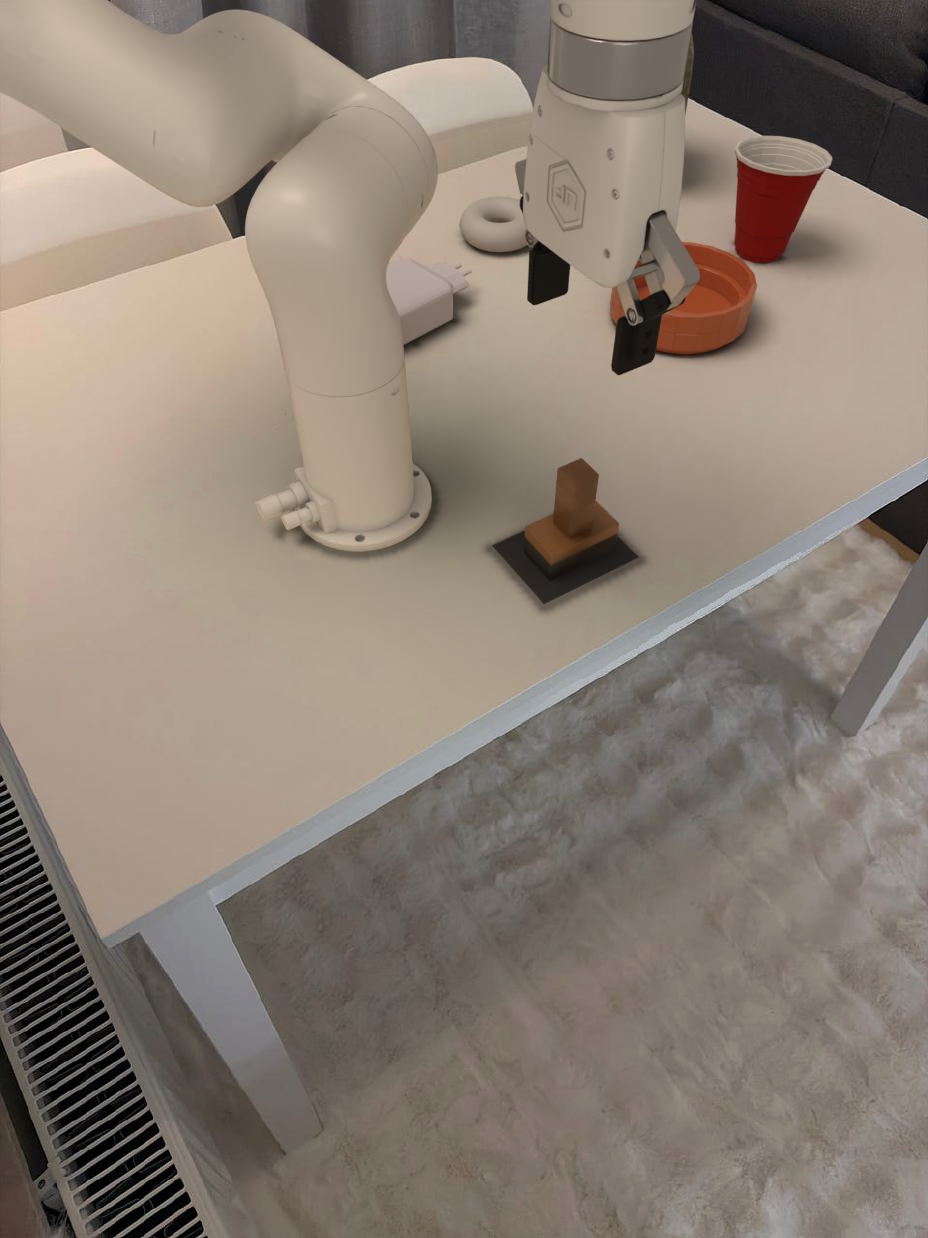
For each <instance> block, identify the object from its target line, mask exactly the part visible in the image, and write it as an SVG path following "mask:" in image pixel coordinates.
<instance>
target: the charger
mask: <svg viewBox="0 0 928 1238" xmlns="http://www.w3.org/2000/svg"><path fill="white" fill-rule="evenodd" d="M462 267H463V266H462V263H457V264H455V265H450V264H448V263H446V262H439V263H436V264H434V265H432V266H430V267H427V266H424V265H423V264H421V263H419V262H418V261H416V260H414V259H411V258H406V257H402V256H401V257H398V258H396V259H394V260H392V261H389V263H388V266H387V271H386V283H387V288H388V291H389V294H390V296H391V298H392V300H393V302H394V304H395V307H396V309H397V312H398V314H399V318H400V322H401V328H402V336H403V346H404V345H406V344H408V343H410V342H412V341H414V340H416V339H418V338H420V337H422V336H423V335H426V334H427V333H429V332H431V331H433V330H435V329H437V328H439V327H441V326H442V325H445V324H447V323H448V322H451V321H452V320H453V318H454V295H455V294H457V293H459V292H461V291H463V290H465V289H467V288H468V287H470V284H469V282H468V280H467V278H466V276H468V275H470V274H472V272H473V271H472V269H471V268H469V269H467V270H465V271H462V272H461V271H460V270H459V269H461V268H462Z"/></svg>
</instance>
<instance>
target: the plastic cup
mask: <svg viewBox="0 0 928 1238" xmlns="http://www.w3.org/2000/svg"><path fill="white" fill-rule="evenodd" d="M734 154H735V156H736V157H735V158H736V169H737V170H736V172H737V173H736V179H737V180H736V196H735V197H736V198H735V214H734V215H735V216H734V223H735V229H734V241H733V242H734V250H735V252H736V253H735V254H737V255H738V256H739V257H741V258H742V259H744V260H747V261H749V262H752V263H753V262H754V263H759V264H760V263H761V264H762V263H772V262H774V261H777V260H779V259H780V258H782V255H783V254H784V253H785V250H786V248H787V246H788V244H789V242H790V239H791V237H792V235H793V233H794V232H795V230H796V228H797V226H798V224H799V222H800V219H801V217H802V215H803V213H804V211H805V209H806V206H807V204H808V202H809V200H810V198H811V196H812V193H813V191H814V190H815V188H816V186H817V185H818V182H819V181H820V180H821V178H822V175H824V172H826V170H828V169H829V168H830V166H831V165H832V161H833V156H832V155H831V154H830V153H829V151H828V150H826V149H825V148H823V147H821V146H819V145H818V144H815V143H813V142H809V141H807V140H803V139H799V138H795V137H789V136H781V135H757V136H751V137H746V138H744V139H742V140H740V141H738V142H737V143H736V145H735V147H734Z"/></svg>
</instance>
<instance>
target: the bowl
mask: <svg viewBox="0 0 928 1238" xmlns="http://www.w3.org/2000/svg"><path fill="white" fill-rule="evenodd" d="M681 242H682V243H683V245H684V246H685V248H686V250H687V251H688V253H689V255H690V256H691V258H692V260H693V261H694V263H695V264H696V266H697V268H698V269H699V272H700V279H699V281H698V283H697V284H696V285H695V287H694V288H693V289H692V291H691V292H690V293H689V294H688V296H687V297H686V298H685V302H684V303H683V304H682V305H680V306H678V307H676V308H674V309H672V310H671V311H670V312H668V313H666V314H663V315H662V318H661V324H660V330H659V335H658V341H657V347H656V351H657V352H663V353H669V354H676V355H677V354H678V355H694V354H703V353H707V352H711V351H714V350H717V349H719V348H722V347H724V346H726V345H728V344H730V343H733V342H734V341H735V340H736V339H737V338H738V337H740V336H741V335H742V334H743V333H744V332H745V330H746V327H747V325H748V323H749V319H750V316H751V311H752V308H753V303H754V300H755V297H756V296H755V295H756V292H757V288H758V284H757V279H756V275H755V273H754V271H753V270H752V269H751V268H750V266H749V265H748V264H747V263H746V262H745V261H743V260H742V259H740V258H739V257H737V256H736V255H734V254H733V253H731V252H729V251H727V250H723V249H721V248H718V247H715V246H713V245H708V244H704V243H703V244H702V243H698V242H690V241H681ZM642 264H643V263H641V262H640V261H638V262H637V264H636V266H635V267H637V266H640V265H642ZM634 282H635V285H636V288H637V292H638V295H639V298H640V301H641V300H643V299H644V298H646V297H648V296H650V293H649V289H648V286H647V283H646V279H645V276H641V277H639V278H636V279H634ZM609 300H610V301H609V311H610V312H609V314H610V317H611V319H612V320H613V322H614V323H615V326H616V325H617V321H618V319H619V318H621V317H623V316H625V313H624V310H623V307H622V303H621V300H620V297H619V294H618V290H617V287H616V286H615V287H612V288H611V292H610V299H609Z"/></svg>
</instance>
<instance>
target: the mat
mask: <svg viewBox="0 0 928 1238" xmlns="http://www.w3.org/2000/svg"><path fill="white" fill-rule="evenodd" d="M524 537H525V530H522V531H521V532H518V533H516V534H514V535H512V536H510V537H507V538H505V539H503V540H500V541H499V542H497V543H494V544H492V545H491V546H492V548H494V549H495V551H496V552H497V553H498V555H499V556H501V557H502V559H504V561H505V562H506V563H507V564H508V566H509V567H510V568H511V569H512V570H513V571H514V572H515V573H516V574H517V576H518V577H519V578H520V579H521V580H522V581H523V582H524V584H526V586H527V587H528V588H529V589H530V590H531V592H533V594H534V595H535V596H536V597H537V598H538V599H539V600H540V602H542V604H543V605H545V604H548V603H549V602H551V601H553V600H556V599H558V598H559V597H561V596H564V595H566V594H567V593H568V594H569V592H572V591H574V590H576V589H577V588H581V587H582V586H584V585H586V584H588V583H590V582H592V581H594V580H596V579H598V578H600V577H602V576H604V575H606V574H608V573H610V572H612V571H614V570H616V569H619V568H620V567H622V566H624V565H626V564H629V563H630V562H632V561H634V560H637V559H638V558H639V555H637V553H635V552H634V551H633V550H632V549H631V548H630V547H629V546H628V545H627V544H626V543H625V542H624V541H623V540H622V539H621V538H620V537H619V535H618V536H617V542H616V548H615V550H613V551H611V552H609V553H607V554H605V555H603V556H601V557H599V558H597V559H594V560H592V561H590V562H588V563H586V564H584V565H582V566H580V567H578V568H576V569H574V570H572V571H570V572H568V573H566V574H563V575H561V576H559V577H557V578H555V579H553V580H551V581H549V580H548V579H547V578H546V576H545V575H544V574H543V573H542V572H541V571H540V570H539V569H538V568H537V567H536V565H535V564H534V563H533V562H532V561H531V560H530V559H529V558H528V557H527V556H526V554H525V553H524Z"/></svg>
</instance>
